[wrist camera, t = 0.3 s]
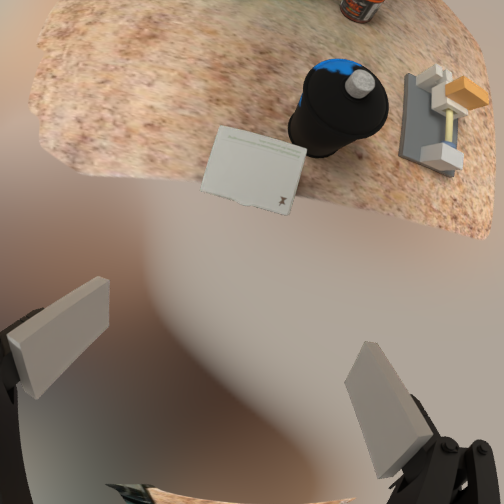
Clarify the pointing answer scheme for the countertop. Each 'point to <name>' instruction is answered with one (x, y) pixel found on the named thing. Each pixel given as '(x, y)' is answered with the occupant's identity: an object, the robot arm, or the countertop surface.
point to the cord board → (429, 125)
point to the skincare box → (254, 170)
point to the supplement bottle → (360, 9)
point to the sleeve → (458, 97)
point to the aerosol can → (337, 107)
